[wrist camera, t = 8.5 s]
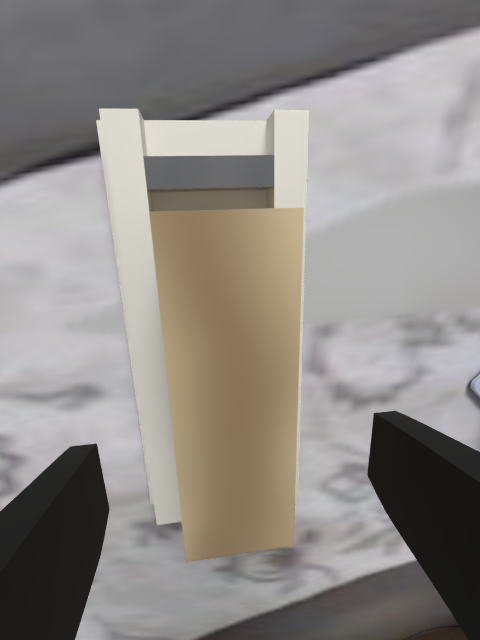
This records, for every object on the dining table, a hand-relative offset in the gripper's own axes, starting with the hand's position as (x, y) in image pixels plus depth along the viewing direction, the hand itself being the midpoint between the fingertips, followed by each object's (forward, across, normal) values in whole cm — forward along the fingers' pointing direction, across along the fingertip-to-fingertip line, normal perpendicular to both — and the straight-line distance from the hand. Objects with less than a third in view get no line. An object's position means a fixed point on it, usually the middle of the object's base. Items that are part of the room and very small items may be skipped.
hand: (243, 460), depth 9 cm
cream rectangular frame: (+10, 0, 0) cm, 10 cm away
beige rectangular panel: (+9, 0, 0) cm, 9 cm away
